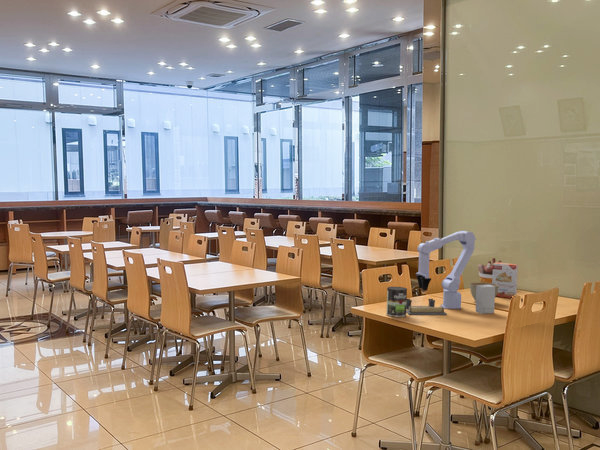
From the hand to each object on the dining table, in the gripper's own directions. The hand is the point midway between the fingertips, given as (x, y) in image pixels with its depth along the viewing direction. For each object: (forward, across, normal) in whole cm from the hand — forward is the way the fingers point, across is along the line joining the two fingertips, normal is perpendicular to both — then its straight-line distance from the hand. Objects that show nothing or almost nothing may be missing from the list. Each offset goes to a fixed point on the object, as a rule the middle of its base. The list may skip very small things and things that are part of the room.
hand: (423, 289), depth 314 cm
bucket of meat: (+11, -66, +66) cm, 94 cm away
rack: (+10, +2, -2) cm, 11 cm away
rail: (+10, +14, -2) cm, 17 cm away
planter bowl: (+11, -16, +41) cm, 45 cm away
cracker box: (+11, -36, +62) cm, 72 cm away
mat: (+10, +14, -2) cm, 18 cm away
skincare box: (+11, +11, +31) cm, 35 cm away
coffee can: (+11, +18, -19) cm, 28 cm away
